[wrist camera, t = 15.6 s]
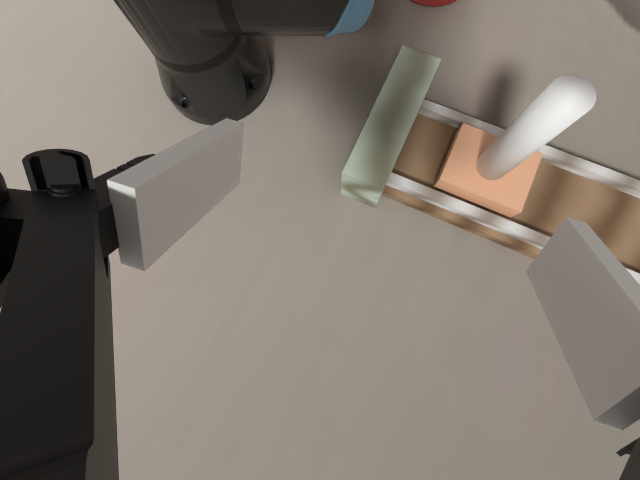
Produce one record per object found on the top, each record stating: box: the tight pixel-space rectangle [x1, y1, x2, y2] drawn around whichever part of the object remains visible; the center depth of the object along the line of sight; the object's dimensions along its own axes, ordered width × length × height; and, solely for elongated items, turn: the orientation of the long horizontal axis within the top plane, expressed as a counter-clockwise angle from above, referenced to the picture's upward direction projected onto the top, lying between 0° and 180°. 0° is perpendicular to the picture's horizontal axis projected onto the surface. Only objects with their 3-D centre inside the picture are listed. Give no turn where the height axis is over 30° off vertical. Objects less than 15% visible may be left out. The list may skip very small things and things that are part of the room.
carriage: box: [434, 74, 596, 218], centre depth 35 cm, size 10×8×16 cm
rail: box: [341, 45, 640, 285], centre depth 40 cm, size 48×18×7 cm, turn 65°
